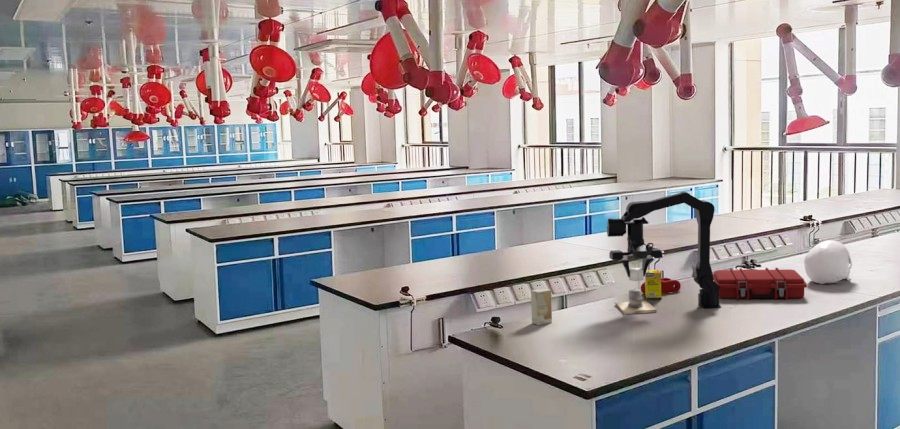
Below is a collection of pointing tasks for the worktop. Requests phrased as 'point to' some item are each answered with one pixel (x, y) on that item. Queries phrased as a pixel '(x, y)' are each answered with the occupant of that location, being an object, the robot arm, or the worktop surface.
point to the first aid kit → (759, 283)
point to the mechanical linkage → (666, 286)
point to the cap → (636, 274)
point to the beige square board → (635, 304)
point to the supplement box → (653, 284)
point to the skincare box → (541, 306)
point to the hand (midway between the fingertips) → (636, 276)
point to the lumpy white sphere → (828, 262)
